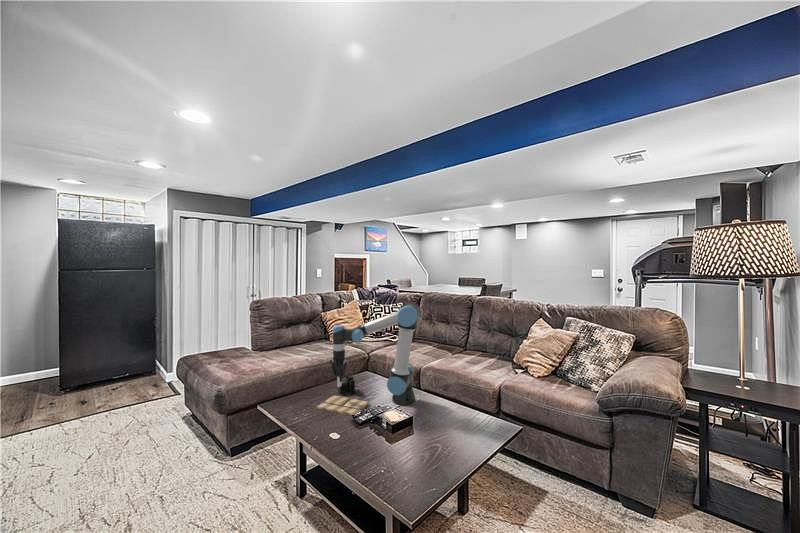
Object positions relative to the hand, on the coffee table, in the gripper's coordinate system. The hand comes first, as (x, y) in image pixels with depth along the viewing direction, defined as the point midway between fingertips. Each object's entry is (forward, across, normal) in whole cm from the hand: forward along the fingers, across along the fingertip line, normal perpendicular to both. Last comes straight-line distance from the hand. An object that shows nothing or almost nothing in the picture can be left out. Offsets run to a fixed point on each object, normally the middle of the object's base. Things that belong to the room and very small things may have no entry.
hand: (339, 386), depth 215 cm
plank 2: (+10, -13, +2) cm, 17 cm away
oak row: (+10, -6, +11) cm, 16 cm away
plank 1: (+10, +1, +2) cm, 10 cm away
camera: (+10, +5, -16) cm, 20 cm away
